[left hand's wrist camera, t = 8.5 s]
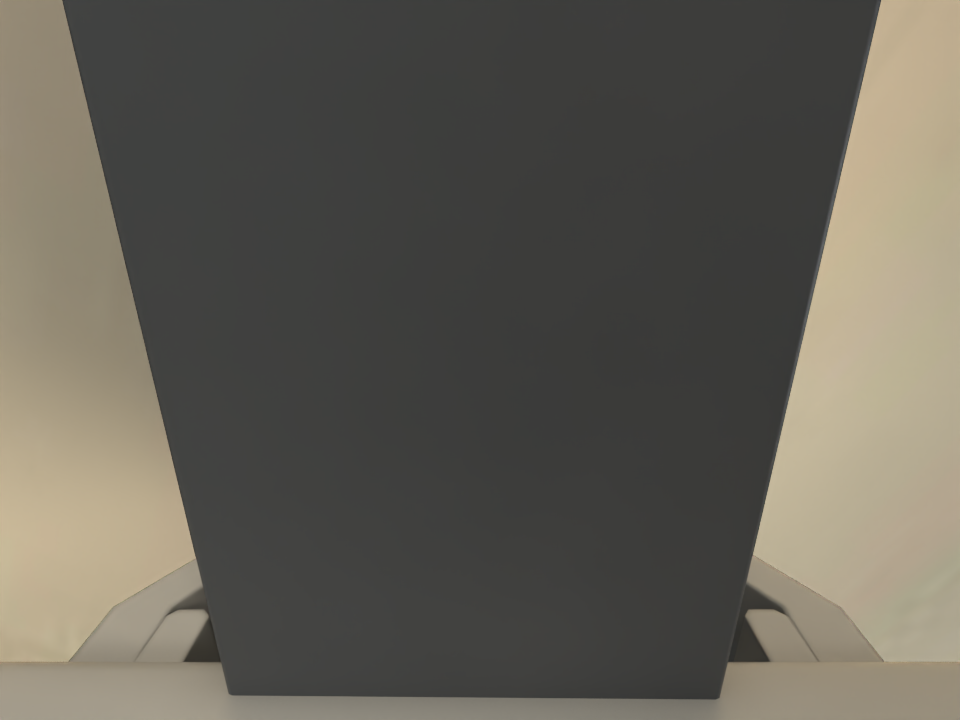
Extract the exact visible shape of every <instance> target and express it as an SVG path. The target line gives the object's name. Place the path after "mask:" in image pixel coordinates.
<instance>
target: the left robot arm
mask: <svg viewBox="0 0 960 720" xmlns="http://www.w3.org/2000/svg"><path fill="white" fill-rule="evenodd" d="M0 720H960V662H884V661H883V659H882V658H881V657H880V656H879V654H878V653H877V652H876V651H875V649H874V648H873V647H872V646H871V644H870V643H869V642H868V640H867V639H866V638H865V637H864V635H863V634H862V633H861V632H860V630H859V629H858V628H857V627H856V625H855V624H854V623H853V622H852V620H851V619H850V618H849V617H848V615H847V614H846V613H845V612H844V610H843V609H842V608H841V607H839V606H837V605H836V604H834V603H832V602H831V601H829V600H827V599H826V598H824V597H822V596H821V595H819V594H817V593H816V592H814V591H812V590H811V589H809V588H807V587H806V586H804V585H802V584H800V583H799V582H797V581H795V580H794V579H792V578H790V577H789V576H787V575H785V574H784V573H782V572H780V571H779V570H777V569H775V568H774V567H772V566H770V565H769V564H767V563H765V562H764V561H762V560H760V559H758V558H757V557H755V556H752V560H751V564H750V569H749V573H748V577H747V582H746V586H745V590H744V594H743V599H742V603H741V607H740V612H739V616H738V620H737V625H736V629H735V633H734V638H733V642H732V646H731V651H730V655H729V659H728V664H727V668H726V672H725V677H724V681H723V685H722V689H721V694H720V698H718V699H716V700H708V699H589V698H471V697H352V696H233V695H230V694H229V693H228V689H227V685H226V681H225V677H224V673H223V668H222V664H221V660H220V656H219V652H218V647H217V643H216V639H215V635H214V631H213V627H212V622H211V618H210V614H209V610H208V606H207V602H206V597H205V593H204V589H203V585H202V581H201V577H200V572H199V568H198V564H197V560H196V559H194V560H192V561H191V562H189V563H187V564H186V565H184V566H182V567H180V568H179V569H177V570H175V571H174V572H172V573H170V574H169V575H167V576H165V577H163V578H162V579H160V580H158V581H157V582H155V583H153V584H151V585H150V586H148V587H146V588H145V589H143V590H141V591H140V592H138V593H136V594H134V595H133V596H131V597H129V598H128V599H126V600H124V601H123V602H121V603H119V604H117V605H116V606H114V607H113V608H112V609H111V610H110V611H109V613H108V614H107V615H106V616H105V617H104V619H103V620H102V621H101V622H100V624H99V625H98V626H97V627H96V629H95V630H94V631H93V632H92V633H91V635H90V636H89V637H88V638H87V640H86V641H85V642H84V643H83V644H82V646H81V647H80V648H79V649H78V651H77V652H76V653H75V654H74V656H73V657H72V658H71V659H70V660H69V662H0Z"/></svg>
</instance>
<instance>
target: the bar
mask: <svg viewBox="0 0 960 720" xmlns="http://www.w3.org/2000/svg"><path fill="white" fill-rule="evenodd" d="M62 1H63V5H64V9H65V13H66V17H67V21H68V26H69V30H70V34H71V38H72V42H73V47H74V51H75V55H76V59H77V63H78V67H79V72H80V76H81V80H82V84H83V88H84V92H85V97H86V101H87V105H88V109H89V113H90V117H91V122H92V126H93V130H94V134H95V138H96V143H97V147H98V151H99V155H100V159H101V163H102V168H103V172H104V176H105V180H106V184H107V188H108V193H109V197H110V201H111V205H112V209H113V213H114V218H115V222H116V226H117V230H118V234H119V238H120V243H121V247H122V251H123V255H124V259H125V264H126V268H127V272H128V276H129V280H130V284H131V289H132V293H133V297H134V301H135V305H136V309H137V314H138V318H139V322H140V326H141V330H142V334H143V339H144V343H145V347H146V351H147V355H148V360H149V364H150V368H151V372H152V376H153V380H154V385H155V389H156V393H157V397H158V401H159V405H160V410H161V414H162V418H163V422H164V426H165V430H166V435H167V439H168V443H169V447H170V451H171V456H172V460H173V464H174V468H175V472H176V476H177V481H178V485H179V489H180V493H181V497H182V501H183V506H184V510H185V514H186V518H187V522H188V526H189V531H190V535H191V539H192V543H193V547H194V551H195V556H196V560H197V564H198V568H199V572H200V577H201V581H202V585H203V589H204V593H205V597H206V602H207V606H208V610H209V614H210V618H211V622H212V627H213V631H214V635H215V639H216V643H217V647H218V652H219V656H220V660H221V664H222V668H223V673H224V677H225V681H226V685H227V689H228V693H229V694H230V695H233V696H352V697H471V698H589V699H708V700H716V699H718V698H720V694H721V689H722V685H723V681H724V677H725V672H726V668H727V664H728V659H729V655H730V651H731V646H732V642H733V638H734V633H735V629H736V625H737V620H738V616H739V612H740V607H741V603H742V599H743V594H744V590H745V586H746V582H747V577H748V573H749V569H750V564H751V560H752V556H753V551H754V547H755V543H756V538H757V534H758V530H759V525H760V521H761V517H762V512H763V508H764V504H765V499H766V495H767V491H768V486H769V482H770V478H771V474H772V469H773V465H774V461H775V456H776V452H777V448H778V443H779V439H780V435H781V430H782V426H783V422H784V417H785V413H786V409H787V404H788V400H789V396H790V391H791V387H792V383H793V379H794V374H795V370H796V366H797V361H798V357H799V353H800V348H801V344H802V340H803V335H804V331H805V327H806V322H807V318H808V314H809V309H810V305H811V301H812V296H813V292H814V288H815V284H816V279H817V275H818V271H819V266H820V262H821V258H822V253H823V249H824V245H825V240H826V236H827V232H828V227H829V223H830V219H831V214H832V210H833V206H834V201H835V197H836V193H837V188H838V184H839V180H840V176H841V171H842V167H843V163H844V158H845V154H846V150H847V145H848V141H849V137H850V132H851V128H852V124H853V119H854V115H855V111H856V106H857V102H858V98H859V93H860V89H861V85H862V81H863V76H864V72H865V68H866V63H867V59H868V55H869V50H870V46H871V42H872V37H873V33H874V29H875V24H876V20H877V16H878V11H879V7H880V3H881V0H62Z"/></svg>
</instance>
